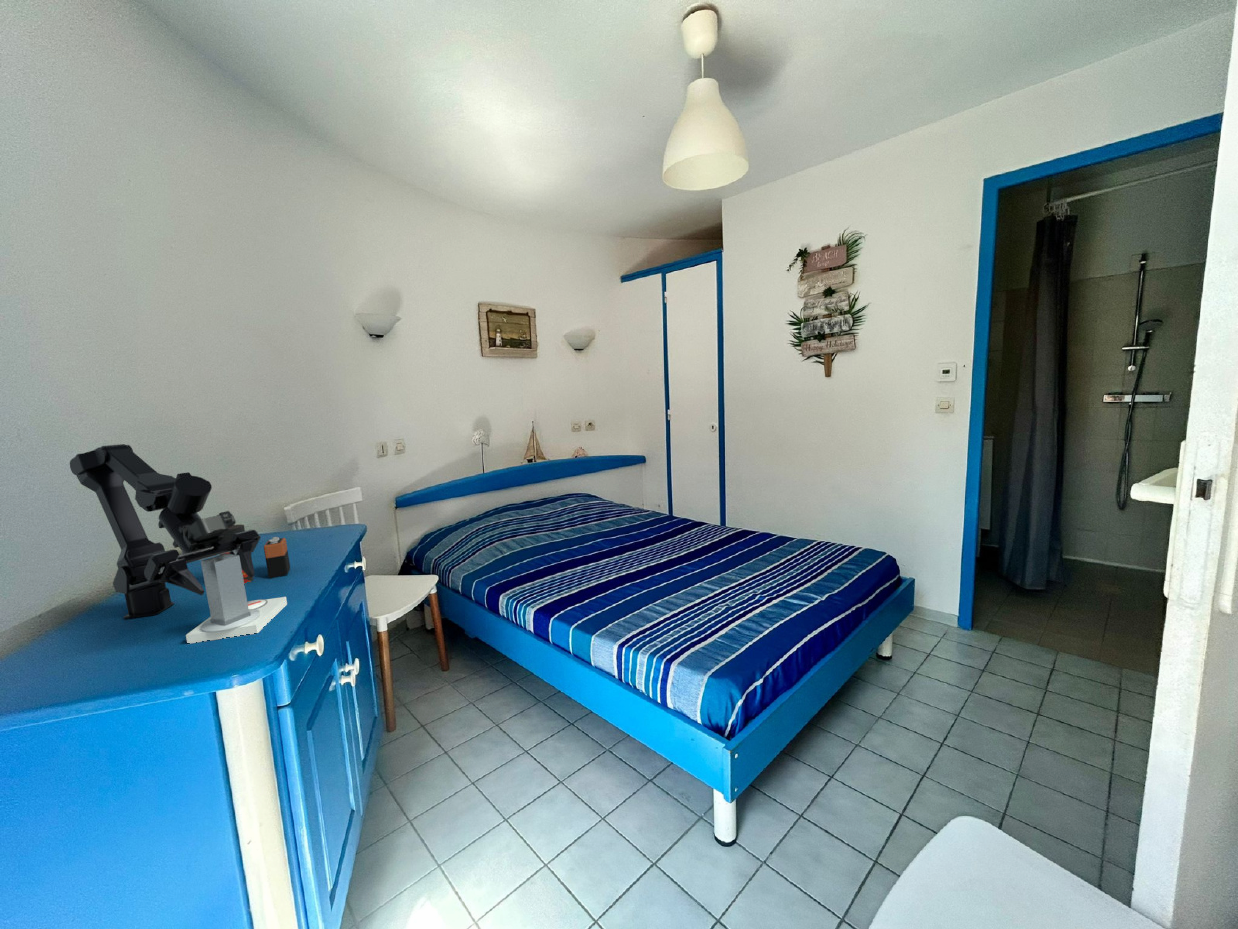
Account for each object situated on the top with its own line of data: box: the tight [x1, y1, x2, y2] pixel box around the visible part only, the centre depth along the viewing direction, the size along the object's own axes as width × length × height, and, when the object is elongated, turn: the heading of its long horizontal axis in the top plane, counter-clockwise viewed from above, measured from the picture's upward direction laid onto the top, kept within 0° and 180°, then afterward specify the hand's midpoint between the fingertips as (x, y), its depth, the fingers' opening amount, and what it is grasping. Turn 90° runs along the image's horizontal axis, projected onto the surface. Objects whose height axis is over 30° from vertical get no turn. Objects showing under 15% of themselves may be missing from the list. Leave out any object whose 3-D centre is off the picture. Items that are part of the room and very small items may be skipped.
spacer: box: [200, 554, 251, 626], centre depth 101 cm, size 5×5×13 cm
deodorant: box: [219, 524, 254, 585], centre depth 130 cm, size 6×6×15 cm
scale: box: [185, 596, 288, 644], centre depth 105 cm, size 12×16×2 cm
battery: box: [263, 536, 291, 579], centre depth 136 cm, size 4×7×10 cm, turn 27°
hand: (229, 584), depth 100 cm, fingers open, 9 cm apart
